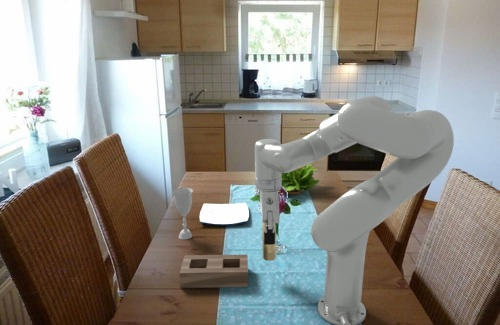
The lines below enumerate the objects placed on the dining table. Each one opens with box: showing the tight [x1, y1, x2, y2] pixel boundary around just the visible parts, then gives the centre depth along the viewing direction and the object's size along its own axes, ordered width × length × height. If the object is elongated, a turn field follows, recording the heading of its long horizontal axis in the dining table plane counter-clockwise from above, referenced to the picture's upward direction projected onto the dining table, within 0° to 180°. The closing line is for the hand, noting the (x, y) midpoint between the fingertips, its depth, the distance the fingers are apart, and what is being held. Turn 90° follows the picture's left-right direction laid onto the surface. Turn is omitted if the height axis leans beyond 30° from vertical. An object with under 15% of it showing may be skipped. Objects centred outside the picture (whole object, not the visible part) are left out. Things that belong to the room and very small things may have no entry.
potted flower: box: [281, 163, 320, 195], centre depth 193 cm, size 25×24×18 cm
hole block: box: [179, 254, 249, 289], centre depth 122 cm, size 10×20×5 cm, turn 91°
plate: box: [199, 202, 250, 227], centre depth 165 cm, size 20×20×3 cm
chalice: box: [172, 187, 194, 240], centre depth 146 cm, size 7×7×18 cm
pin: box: [261, 220, 277, 262], centre depth 119 cm, size 4×4×12 cm
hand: (269, 239), depth 119 cm, fingers closed on pin, 4 cm apart
